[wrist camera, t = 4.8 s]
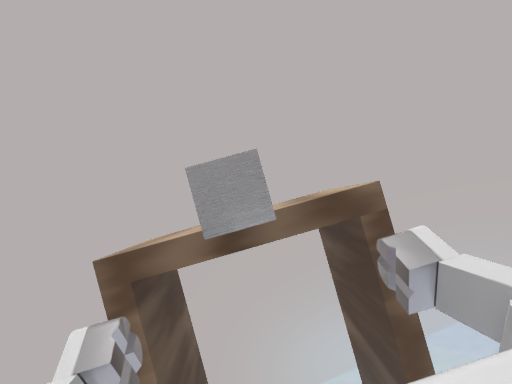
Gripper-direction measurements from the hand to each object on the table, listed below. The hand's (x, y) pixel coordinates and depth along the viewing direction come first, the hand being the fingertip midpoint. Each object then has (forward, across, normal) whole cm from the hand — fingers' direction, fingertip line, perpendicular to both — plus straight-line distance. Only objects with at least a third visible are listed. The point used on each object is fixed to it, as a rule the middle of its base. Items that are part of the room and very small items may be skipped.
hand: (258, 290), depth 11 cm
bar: (+12, 0, +5) cm, 13 cm away
